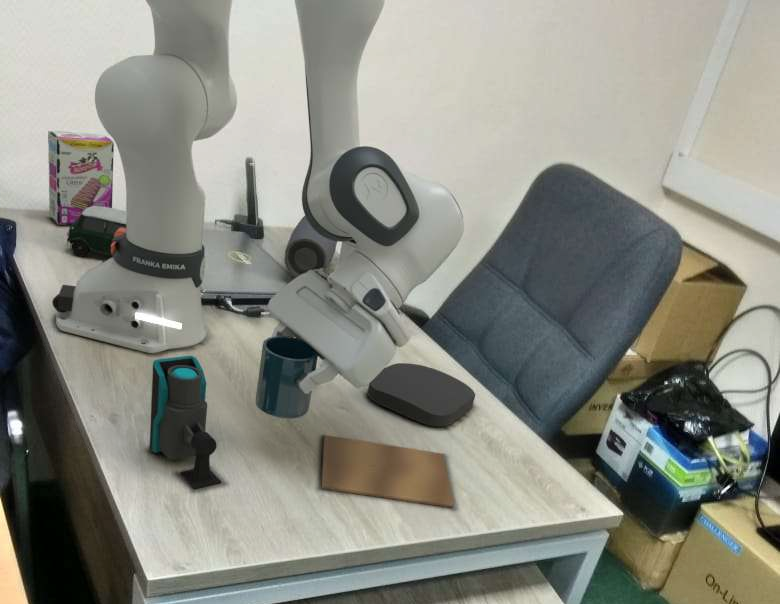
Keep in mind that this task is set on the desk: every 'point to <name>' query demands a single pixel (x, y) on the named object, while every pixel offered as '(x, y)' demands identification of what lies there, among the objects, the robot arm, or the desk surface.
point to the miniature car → (95, 230)
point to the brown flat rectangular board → (385, 471)
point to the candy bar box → (78, 174)
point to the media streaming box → (421, 393)
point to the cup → (284, 376)
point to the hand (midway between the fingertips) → (283, 373)
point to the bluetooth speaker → (308, 250)
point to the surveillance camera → (182, 417)
